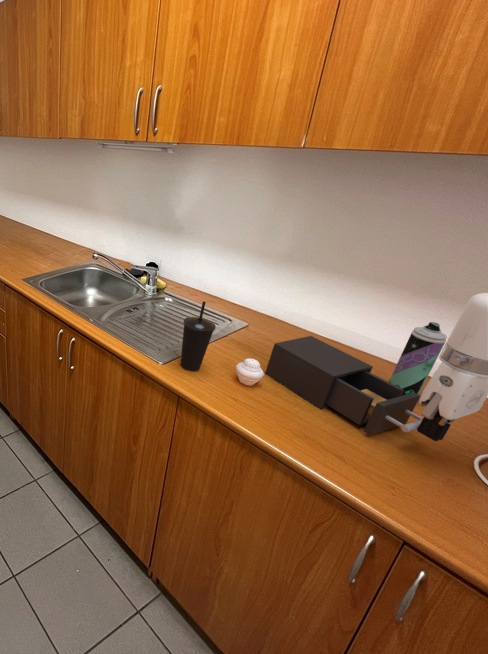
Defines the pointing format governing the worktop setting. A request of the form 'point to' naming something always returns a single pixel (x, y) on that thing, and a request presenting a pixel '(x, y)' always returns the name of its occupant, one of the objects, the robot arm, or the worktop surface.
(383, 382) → the pull-out drawer
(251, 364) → the muffin
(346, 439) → the worktop surface
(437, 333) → the spray can
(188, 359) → the drinking cup
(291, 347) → the drawer box
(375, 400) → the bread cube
